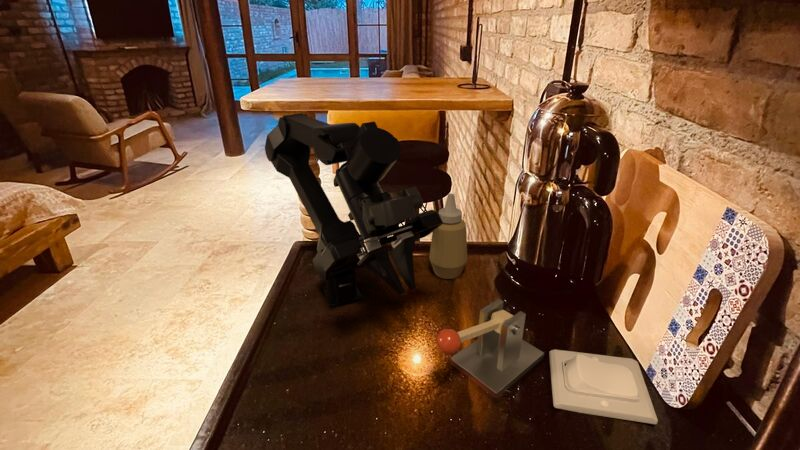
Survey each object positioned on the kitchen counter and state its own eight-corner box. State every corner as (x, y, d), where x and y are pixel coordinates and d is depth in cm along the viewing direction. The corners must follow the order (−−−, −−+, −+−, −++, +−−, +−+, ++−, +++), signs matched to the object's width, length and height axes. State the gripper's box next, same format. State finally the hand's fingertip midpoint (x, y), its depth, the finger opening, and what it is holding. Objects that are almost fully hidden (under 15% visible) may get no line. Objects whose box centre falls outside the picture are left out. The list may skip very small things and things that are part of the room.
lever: (446, 362, 51) (452, 340, 50) (428, 348, 53) (433, 327, 52) (513, 334, 61) (518, 315, 60) (495, 323, 63) (501, 305, 62)
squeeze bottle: (469, 282, 84) (474, 202, 76) (429, 283, 84) (431, 203, 76) (464, 262, 91) (468, 187, 83) (427, 262, 91) (429, 187, 83)
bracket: (495, 399, 58) (502, 347, 53) (449, 364, 64) (452, 314, 60) (543, 359, 65) (552, 309, 60) (497, 330, 71) (503, 283, 66)
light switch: (550, 336, 64) (641, 346, 61) (548, 356, 66) (636, 367, 63) (555, 390, 55) (663, 406, 52) (553, 412, 57) (656, 428, 53)
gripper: (320, 186, 50) (371, 303, 47) (437, 158, 60) (486, 254, 56) (302, 221, 59) (344, 321, 56) (406, 192, 69) (446, 276, 66)
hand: (408, 292), depth 58 cm, fingers closed
